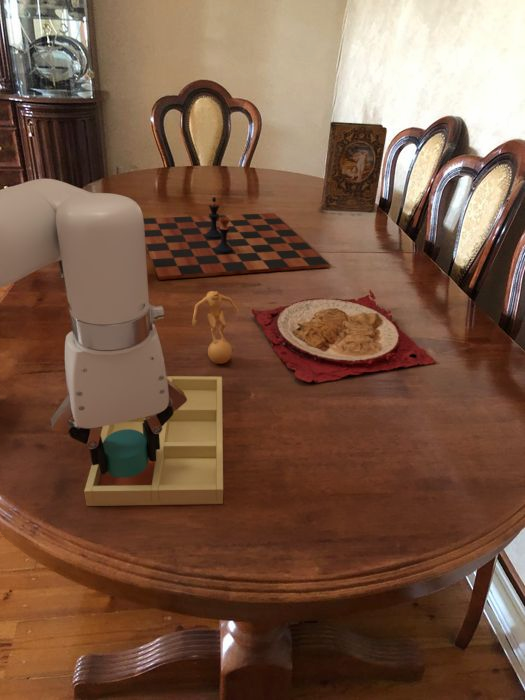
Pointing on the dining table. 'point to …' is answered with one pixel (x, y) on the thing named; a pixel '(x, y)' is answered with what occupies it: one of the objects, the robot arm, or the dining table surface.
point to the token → (126, 453)
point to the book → (353, 166)
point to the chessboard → (225, 245)
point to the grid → (173, 454)
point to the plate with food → (338, 338)
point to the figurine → (218, 348)
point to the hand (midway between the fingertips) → (126, 458)
